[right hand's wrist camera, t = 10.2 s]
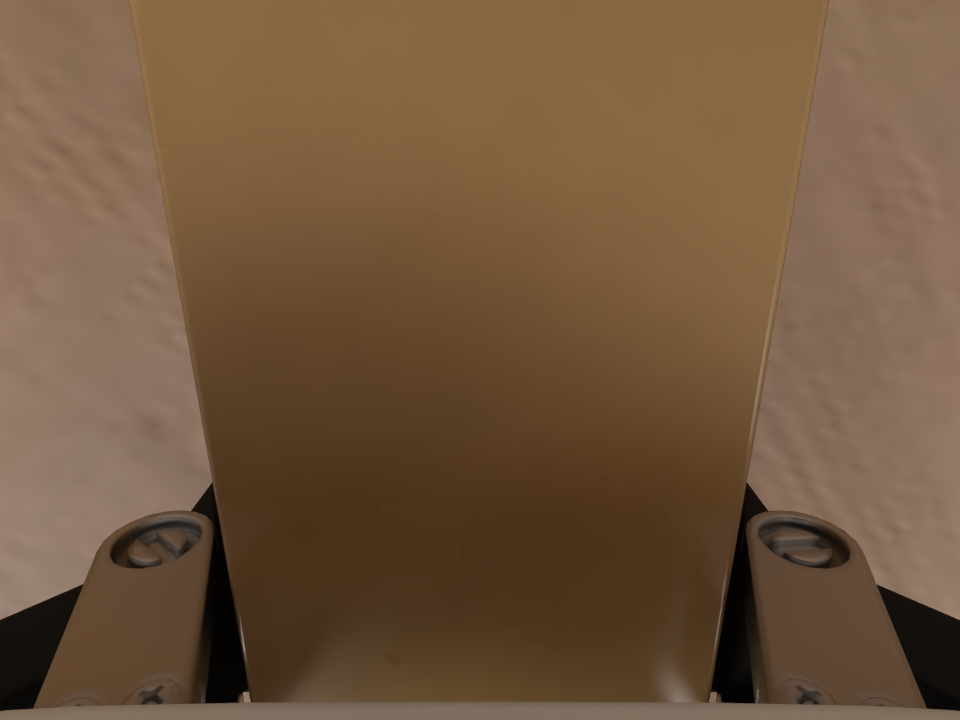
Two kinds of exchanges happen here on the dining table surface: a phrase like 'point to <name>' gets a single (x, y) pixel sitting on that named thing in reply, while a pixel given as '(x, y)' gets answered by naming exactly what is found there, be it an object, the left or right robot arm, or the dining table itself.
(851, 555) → the right robot arm
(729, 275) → the bar
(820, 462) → the dining table surface
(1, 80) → the dining table surface
